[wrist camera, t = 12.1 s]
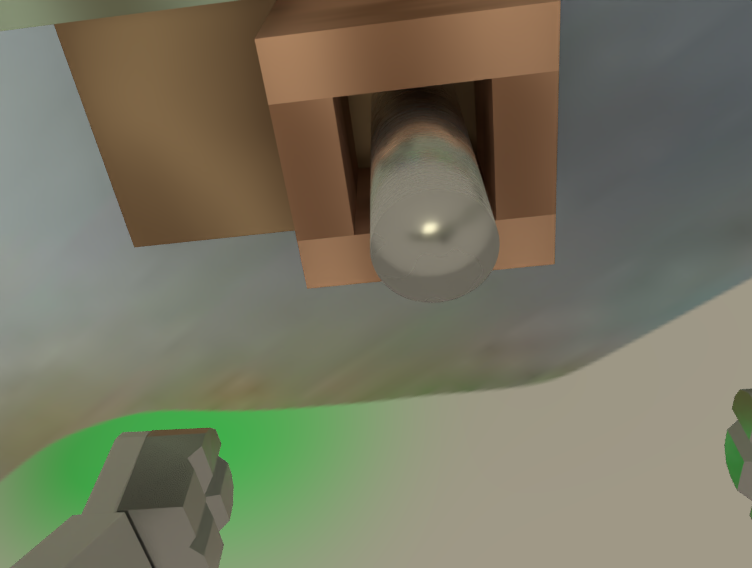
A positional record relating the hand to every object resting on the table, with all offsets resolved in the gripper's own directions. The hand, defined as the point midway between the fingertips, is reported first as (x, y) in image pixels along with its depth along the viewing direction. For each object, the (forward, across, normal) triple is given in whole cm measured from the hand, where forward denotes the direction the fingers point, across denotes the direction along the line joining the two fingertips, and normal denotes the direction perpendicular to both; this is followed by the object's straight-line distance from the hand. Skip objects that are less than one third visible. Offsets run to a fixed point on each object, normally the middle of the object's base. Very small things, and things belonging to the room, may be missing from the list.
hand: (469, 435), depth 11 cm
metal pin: (+16, +1, 0) cm, 16 cm away
